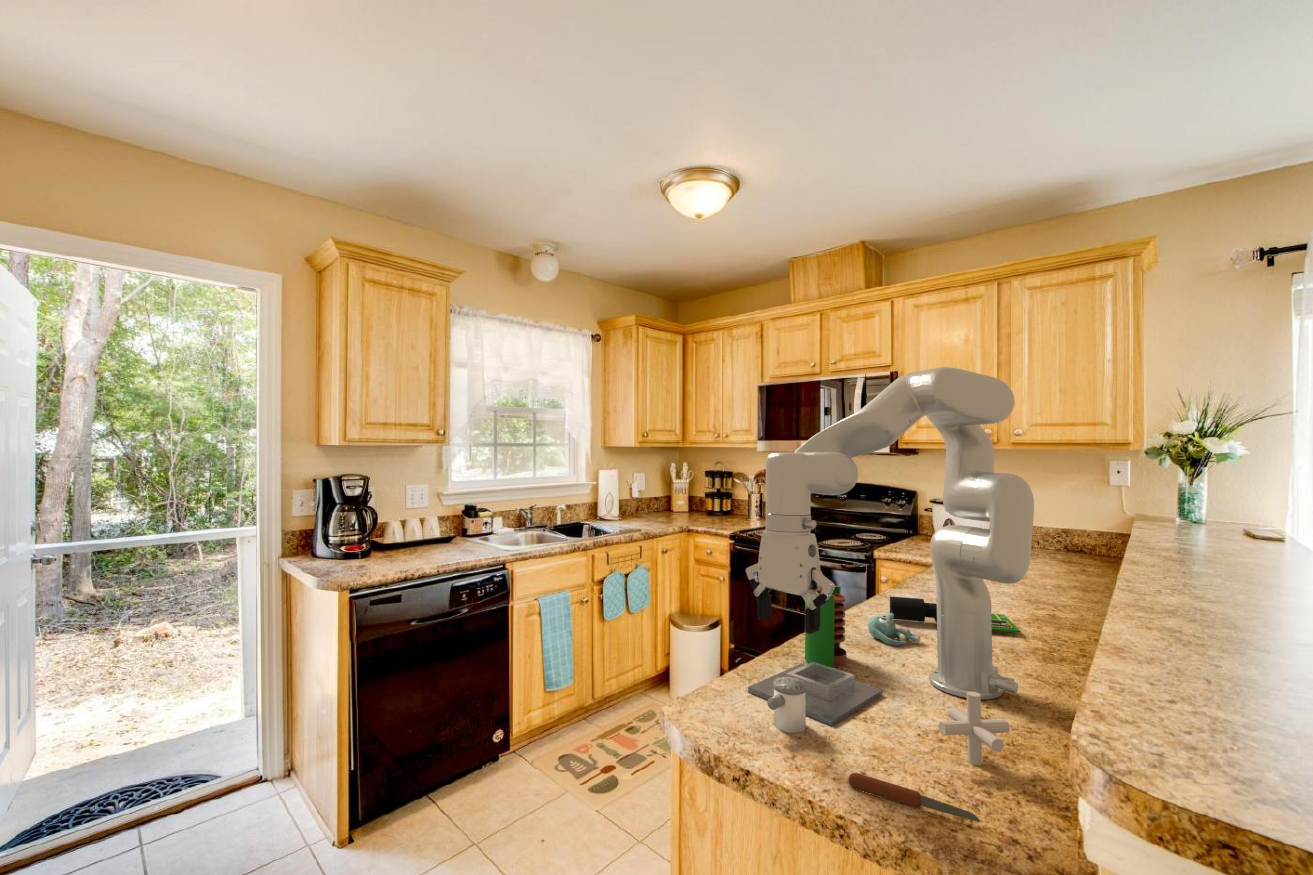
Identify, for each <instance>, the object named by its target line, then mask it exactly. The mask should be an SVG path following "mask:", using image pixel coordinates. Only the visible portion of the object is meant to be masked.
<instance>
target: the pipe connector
mask: <svg viewBox="0 0 1313 875" xmlns="http://www.w3.org/2000/svg"><path fill="white" fill-rule="evenodd" d="M981 700H982V699H981V695H980V694H979V693H977V692H972V691H968V692H967V698H966V713H965V712H963V711H962V710H961V709H959V708H958V707H956V706H951V707H950V708H948V712H947V714H948V717H949V718H951V719H952V720H949V721H947V720H946V721H939V722H938V730H939V732H940V734H941V735H942V736H961V735H967V762H969V764H971V765H974V766H982V765H983V754H982V753H983V751H982V749H983V748H982V747H983V746H982V743H983V744H985V745H986V746H987V747H988V748H990V749H991V750H992V751H994V752H996V753H999V752H1001V751H1003V749H1004V745H1005V744H1004V741H1002V739H1000V738H999V737H998V736H996V735H995V734H1003V733H1004V734H1006V733H1010V729H1011V728H1010V724H1009V722H1008V720H1006V719H1004V718H997V719H996V718H995V719H993V718H992V719H982V708H981V707H982V704H981V703H982V702H981Z"/></svg>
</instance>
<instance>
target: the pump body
mask: <svg viewBox="0 0 1313 875" xmlns="http://www.w3.org/2000/svg"><path fill="white" fill-rule="evenodd" d="M773 688H774V696H773V697H771V698H769V699H768V700H767V702H766V704H767V707H768V708H769V709H770V710H772V711H773V718H774V719H773V720H774V721H773V725H774V726H775V728H776V729H777V730H779V731H782V732H784V733H790V734H797V733H798V734H799V733H802V732H804V731H805V730H806V728H807V727H806V725H807V722H806V721H807V719H806V718H807V717H806V702H805V691H806V684H805V682H803V681H802V680H800V679H797V678H792V677H780V678H777V679H775V680H774V681H773Z"/></svg>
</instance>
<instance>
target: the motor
mask: <svg viewBox="0 0 1313 875" xmlns="http://www.w3.org/2000/svg"><path fill="white" fill-rule="evenodd" d="M820 573H821V574H822V575H824V573H823V572H822V570H821V569H820ZM841 587H842V586H838V585H835V589H834V591H833V593H832V595H831V596H830V599H829V600H828V601H827V602H826V603H825V604H824V606H823V607H821V610H820V627H819V631H817V632H814V633H811V634H807V633H806V632H805V631H804V660H805V661H806V662H807V664H809V663H811V662H815V663H819V664H822V665H825V666H828V667H831V668H834V669H835V668H841V667H844V666H846V665H847V650H845V648H843V647H841V643H844V642H845V640H846V635H845V633H846V628H845V625H846V620H845V619H844V618H845V617H846V612H845V611H844V610H846V604H845V602H846V596H844V595H843V594H841ZM821 591H822V587H820V590H819V591H817V593H818V594H819V595H820V594H821ZM804 604H805V605H804V607H805V608H804V611H805V610H806V609H807V608H809V607H808V605H807V604H806V602H805V601H804Z"/></svg>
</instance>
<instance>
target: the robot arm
mask: <svg viewBox="0 0 1313 875" xmlns="http://www.w3.org/2000/svg"><path fill="white" fill-rule="evenodd" d="M1015 403H1016V402H1015V396H1014V393H1013V390H1012V388H1011V386H1009V385H1008V384H1007V383H1006V382H1005V381H1004V380H1001V379H999V378H997V377H993V376H989V375H986V374H981V373H977V372H975V371H974V372H973V371H970V370H965V369H961V368H957V367H951V366H950V367H949V366H943V367H936V368H930V369H923V370H919V371H913V372H908V373H905V374H903V375H900V376H899V377H898V378H896V379H895V380H894V381H893V382H891V383H890V384H889V385H888V386H887V387H886V388H884V389H883V390H882V391H881V392H880V393H878V395H876V396H875V397H874V398H873V399H872V400H871V401H869V402H868V403H867V404H866V405H864V406H863V407H862V408H861V409H859V410H858V411H857V412H855V413H853V414H851V415H849V416H847V417H845V418H842V419H841V420H839V421H837V422H836V423H833V424H832V425H830V426H828V427H827V428H824V429H823V430H821V431H819V432H817V433H816V434H815V435H813V436H812V437H810V438H809V439H808V440H807V441H805V442H804V443H803V444H802V445H800V446H799V447H798V448H796V450H795V451H794V452H793V451H792V452H788V451H787V452H782V451H781V452H772V453H770V454H768V455H767V457H766V460H765V530H763V531H762V535H761V538H760V539H761V540H760V544H759V552H758V562H757V563H755V564H753V565H750V566H748V567H746V568H745V573H746V576H747V579H748V580H749V581H748V584H749V585H750V587H751V588H752V589H753V594H754V596H755V597H756V612H757V616H756V618H757V620H758V621H763V620H767V619H770V618H771V617H772V595H771V594H769V593H770V592H771V591H772V590H773V591H777V592H782V593H786V594H791V595H796V596H801V597H802V598H803V600H804V603H805V602H806V604H807V605H808V607H809V608H807V609H806V610H805V609H804V633H805V632H806V633H807V634H811V633H814V632H817V631H819V627H820V610H821V607H823V606H824V604H825V603H826V602H827V601H828V600H829V599H830V596H831V595H832V593H833V591H834V589H835V586H836V584H835V583H834V582H833V581H832V580H830V579H829V578H827V577H826V576H825V575H824V574H823V575H822V574H821V573H820V570H821V562H820V561H821V560H820V554H819V552H820V551H819V547H818V541H817V537H816V534H815V533H812V532H811V531H812V529H816V527H817V520H813V519H812V515H811V494H819V495H826V496H839V495H843V494H845V493H848V492H849V491H851V490H853V488H854V487H855V486H856V484H857V483H858V479H859V469H858V467H857V464H856V462H855V461H854V460H853V459H852V458H856V457H858V456H863V455H867V454H871V453H875V452H877V451H881V450H883V449H886V448H888V447H890V446H892V445H893V444H895V442H897V440H899V438H900V437H902V436H903V435H904V434H905V433H906V432H908V430H909V429H910V428H912V427H913V426H914V425H915V424H916V423H918V422H919V421H920V420H921V419H922V418H924V417H925V416H926V418H927V419H928V420H929V421H930V423H931V424H932V425H933V426H934V427H935V429H936V430H937V431H938V433H939V434H940V435H941V437H942V439H943V442H944V445H945V450H946V451H945V452H946V453H945V468H944V469H945V470H944V479H943V480H944V481H943V492H942V502H943V507H944V510H945V511H946V512H947V513H948V514H949V515H950V516H954V517H955V518H959V519H964V520H969V521H980V522H986V523H987V522H988V523H989V529H988V528H983V527H977V526H976V527H975V526H969V525H960V524H952V525H949V524H948V525H945V526H941V527H940V528H938V529H937V530H936V531H935V532H934V533H933V535H932V536H931V539H930V543H929V553H930V558H931V561H932V562H931V563H932V566H933V571H934V576H935V590H936V604H937V623H936V625H937V626H936V633H937V634H936V635H937V636H936V639H937V640H936V642H937V644H936V645H937V648H936V649H937V669H935V670H932V671H931V672H930V673H929V677H928V679H929V680H928V681H929V682H930V684H931V685H932V686H933V687H935V688H936V689H938V690H940V691H941V692H945V693H947V694H950V695H953V696H957V697H961V698H964V699H965V698H966V699H967V692H968V691H972V692H977V693H979V694H980V695H981V700H992V699H993V700H994V699H997V698H999V697H1001V696H1002V694H1003V691H1006V692H1009V693H1012V694H1017V693H1018V690H1019V684H1018V682H1016V681H1015V678H1011V677H1009V676H1003V675H1001V674H1000V673H999V670H998V668H999V667H998V666H997V665H993V637H992V636H993V630H992V620H991V614H992V599H991V598H992V597H991V594H990V591H989V588H988V586H987V585H986V583H985V581H984V580H986V581H991V582H996V583H1000V584H1007V585H1008V584H1011V585H1012V584H1016V583H1019V582H1020V581H1021V580H1023V579H1024V577H1025V576H1026V575H1027V573H1028V570H1029V567H1030V563H1031V558H1032V557H1031V556H1032V544H1033V530H1034V520H1035V519H1034V517H1035V499H1034V495H1033V492H1032V488H1031V487H1030V484H1029V483H1028V482H1027V480H1025V479H1024V478H1023V477H1021V476H1020V475H1018V474H1015V473H1010V472H995V447H994V443H993V441H992V439H991V437H990V436H989V434H988V433H987V431H986V430H985V429H984V428H983V426H982V425H994V424H999V423H1001V422H1003V421H1005V420H1006V419H1008V418H1009V417H1010V416H1011V415H1012V412H1013V410H1014V408H1015ZM820 587H822V591H821V594H820V595H819V594H818V593H817V591H819V590H820Z"/></svg>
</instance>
